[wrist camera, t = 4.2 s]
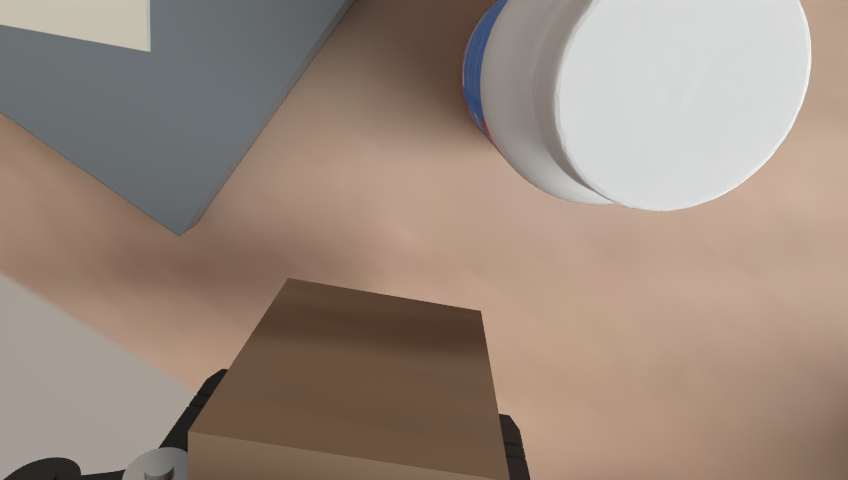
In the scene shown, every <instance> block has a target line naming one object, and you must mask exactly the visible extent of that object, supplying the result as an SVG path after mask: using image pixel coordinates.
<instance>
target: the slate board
mask: <svg viewBox="0 0 848 480" xmlns="http://www.w3.org/2000/svg"><path fill="white" fill-rule="evenodd" d="M354 1H355V0H0V112H1V113H3V114H4V115H6V116H7V117H8V118H10V119H11V120H13V121H14V122H16V123H17V124H18V125H20V126H21V127H23V128H24V129H26V130H27V131H28V132H30V133H31V134H33V135H34V136H36V137H37V138H38V139H40V140H41V141H43V142H44V143H46V144H47V145H48V146H50V147H51V148H53V149H54V150H56V151H57V152H59V153H60V154H61V155H63V156H64V157H66V158H67V159H69V160H70V161H71V162H73V163H74V164H76V165H77V166H79V167H80V168H81V169H83V170H84V171H86V172H87V173H89V174H90V175H91V176H93V177H94V178H96V179H97V180H99V181H100V182H101V183H103V184H104V185H106V186H107V187H109V188H110V189H111V190H113V191H114V192H116V193H117V194H119V195H120V196H122V197H123V198H124V199H126V200H127V201H129V202H130V203H132V204H133V205H134V206H136V207H137V208H139V209H140V210H142V211H143V212H144V213H146V214H147V215H149V216H150V217H152V218H153V219H154V220H156V221H157V222H159V223H160V224H162V225H163V226H164V227H166V228H167V229H169V230H170V231H172V232H173V233H175V234H176V235H177V236H180V235H182V234H183V233H185V232H186V231H188V230H189V229H191V228H192V227H193V226H194V225H195V224H196V223H197V221H198V220H199V218H200V217H201V216H202V214H203V213H204V211H205V210H206V209H207V207H208V206H209V204H210V203H211V202H212V200H213V199H214V197H215V196H216V195H217V193H218V192H219V190H220V189H221V188H222V186H223V185H224V183H225V182H226V181H227V179H228V178H229V176H230V175H231V173H232V172H233V171H234V169H235V168H236V166H237V165H238V164H239V162H240V161H241V159H242V158H243V157H244V155H245V154H246V152H247V151H248V150H249V148H250V147H251V145H252V144H253V143H254V141H255V140H256V138H257V137H258V136H259V134H260V133H261V131H262V130H263V129H264V127H265V126H266V124H267V123H268V121H269V120H270V119H271V117H272V116H273V114H274V113H275V112H276V110H277V109H278V107H279V106H280V105H281V103H282V102H283V100H284V99H285V98H286V96H287V95H288V93H289V92H290V91H291V89H292V88H293V86H294V85H295V84H296V82H297V81H298V79H299V78H300V77H301V75H302V74H303V72H304V71H305V69H306V68H307V67H308V65H309V64H310V62H311V61H312V60H313V58H314V57H315V55H316V54H317V53H318V51H319V50H320V48H321V47H322V46H323V44H324V43H325V41H326V40H327V39H328V37H329V36H330V34H331V33H332V32H333V30H334V29H335V27H336V26H337V25H338V23H339V22H340V20H341V19H342V17H343V16H344V15H345V13H346V12H347V10H348V9H349V8H350V6H351V5H352V3H353V2H354Z"/></svg>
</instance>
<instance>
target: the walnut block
mask: <svg viewBox="0 0 848 480" xmlns="http://www.w3.org/2000/svg"><path fill="white" fill-rule="evenodd" d="M188 480H510V478H509V472H508V466H507V460H506V454H505V449H504V443H503V437H502V431H501V425H500V420H499V414H498V408H497V402H496V396H495V391H494V385H493V379H492V373H491V367H490V362H489V356H488V350H487V344H486V338H485V333H484V327H483V321H482V315H481V311H477V310H471V309H465V308H460V307H454V306H448V305H442V304H436V303H430V302H424V301H419V300H413V299H407V298H401V297H395V296H389V295H383V294H377V293H372V292H366V291H360V290H354V289H348V288H342V287H336V286H331V285H325V284H319V283H313V282H307V281H301V280H295V279H289V278H288V279H287V281H286V282H285V284H284V285H283V287H282V289H281V290H280V292H279V293H278V295H277V296H276V298H275V299H274V301H273V302H272V304H271V305H270V307H269V308H268V310H267V311H266V313H265V314H264V316H263V318H262V319H261V321H260V322H259V324H258V325H257V327H256V328H255V330H254V331H253V333H252V334H251V336H250V337H249V339H248V340H247V342H246V344H245V345H244V347H243V348H242V350H241V351H240V353H239V354H238V356H237V357H236V359H235V360H234V362H233V363H232V365H231V366H230V368H229V370H228V371H227V373H226V374H225V376H224V377H223V379H222V380H221V382H220V383H219V385H218V386H217V388H216V389H215V391H214V392H213V394H212V395H211V397H210V399H209V400H208V402H207V403H206V405H205V406H204V408H203V409H202V411H201V412H200V414H199V415H198V417H197V418H196V420H195V421H194V423H193V425H192V426H191V428H190V429H189V431H188Z"/></svg>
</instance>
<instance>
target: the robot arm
mask: <svg viewBox="0 0 848 480" xmlns="http://www.w3.org/2000/svg"><path fill="white" fill-rule="evenodd" d="M227 371H228V370H227V369H221V370H220V371H218V372H217V373H215V374H214V375H212V376H211V377H209V378H208V379H207V380H206V381H205V382H204V384H203V385H202V387H201V388H200V390H199V391H198V392H197V395H196V396H195V397H194V398H193V400H192V401H191V403H190V404H189V407H187V408H186V410H185V411H184V412H183V414H182V415H181V417H180V418H179V420H178V421H177V422H176V424H175V425H174V427H173V428H172V430H171V431H170V432H169V434H168V435H167V437H166V438H165V440H164V441H163V443H162V444H161V445H160V447H159V448H158V449H154V450H151V451H149V452H146V453H144V454H142V455H140V456H139V457H137V458H136V459H135V460H133V462H131V464H129V466H128V467H127V468H126V469H124V470H121V471H115V472H108V473H99V474H90V475H81V470H80V467H79V466H78V465H77V464H76V463H75V462H74V461H72V460H70V459H66V458H58V457H57V458H46V459H42V460H38V461H35V462H32V463H29V464H27V465H25V466H23V467H21V468H19V469H17V470H16V471H14V472H13V473H12V474H10V475H9V476H8V477H6V478H5V479H4V480H188V431H189V429H190V428H191V426H192V425H193V423H194V421H195V420H196V418H197V417H198V415H199V414H200V412H201V411H202V409H203V408H204V406H205V405H206V403H207V402H208V400H209V399H210V397H211V395H212V394H213V392H214V391H215V389H216V388H217V386H218V385H219V383H220V382H221V380H222V379H223V377H224V376H225V374H226V373H227ZM499 420H500V425H501V431H502V437H503V443H504V449H505V454H506V460H507V466H508V472H509V478H510V480H530V476H529V471H528V466H527V462H526V460H525V453H524V448H523V444H522V439H521V435H520V430H519V429H518V427H517V426H516V424H515V423H514V421H513V420H512V419H511V417H510V416H509V415H503V414H499Z"/></svg>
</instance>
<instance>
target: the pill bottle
mask: <svg viewBox="0 0 848 480" xmlns="http://www.w3.org/2000/svg"><path fill="white" fill-rule="evenodd" d="M810 68H811V40H810V34H809V28H808V23H807V20H806V16H805V13H804V10H803V8H802V6H801V4H800V2H799V0H498V1H496V2H495V3H494V4H493V5H492V6H491V7H490V8H489V9H488V10H487V11H486V12H485V13H484V14H483V15H482V17H481V18H480V19H479V21H478V22H477V24H476V25H475V27H474V29H473V31H472V33H471V35H470V37H469V39H468V41H467V44H466V47H465V50H464V54H463V58H462V66H461V85H462V91H463V96H464V100H465V103H466V106H467V108H468V111H469V113H470V115H471V117H472V119H473V120H474V122H475V123H476V125H477V126H478V127H479V129H480V130H481V131H482V132H483V133H484V135H485V136H486V137H487V138H488V139H489V140H490V141H491V143H492V144H493V145H494V146H495V147H496V149H497V150H498V151H499V152H500V154H501V155H502V156H503V157H504V158H505V160H506V161H507V162H508V163H509V164H510V165H511V166H512V167H513V168H514V169H515V170H516V171H517V172H518V173H519V174H520V175H521V176H522V177H523V178H524V179H526V180H527V181H528V182H530V183H531V184H533V185H534V186H535V187H537V188H539V189H540V190H542V191H544V192H546V193H548V194H550V195H553V196H555V197H558V198H561V199H564V200H567V201H572V202H577V203H584V204H614V203H617V204H619V205H622V206H625V207H629V208H634V209H640V210H647V211H671V210H677V209H683V208H688V207H692V206H696V205H699V204H701V203H704V202H707V201H710V200H713V199H715V198H717V197H719V196H721V195H723V194H725V193H727V192H728V191H730V190H732V189H733V188H735V187H737V186H738V185H740V184H741V183H742V182H744V181H745V180H746V179H747V178H749V177H750V176H751V175H752V174H754V173H755V172H756V171H757V170H758V169H759V168H760V167H761V166H763V165H764V164H765V162H766V161H767V160H768V159H769V158H770V157H771V156H772V155H773V153H774V152H775V151H776V149H777V148H778V147H779V145H780V144H781V143H782V141H783V140H784V139H785V137H786V136H787V134H788V132H789V131H790V129H791V127H792V126H793V124H794V120H795V119H796V117H797V114H798V112H799V110H800V108H801V106H802V103H803V100H804V97H805V94H806V90H807V86H808V82H809V76H810Z"/></svg>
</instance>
